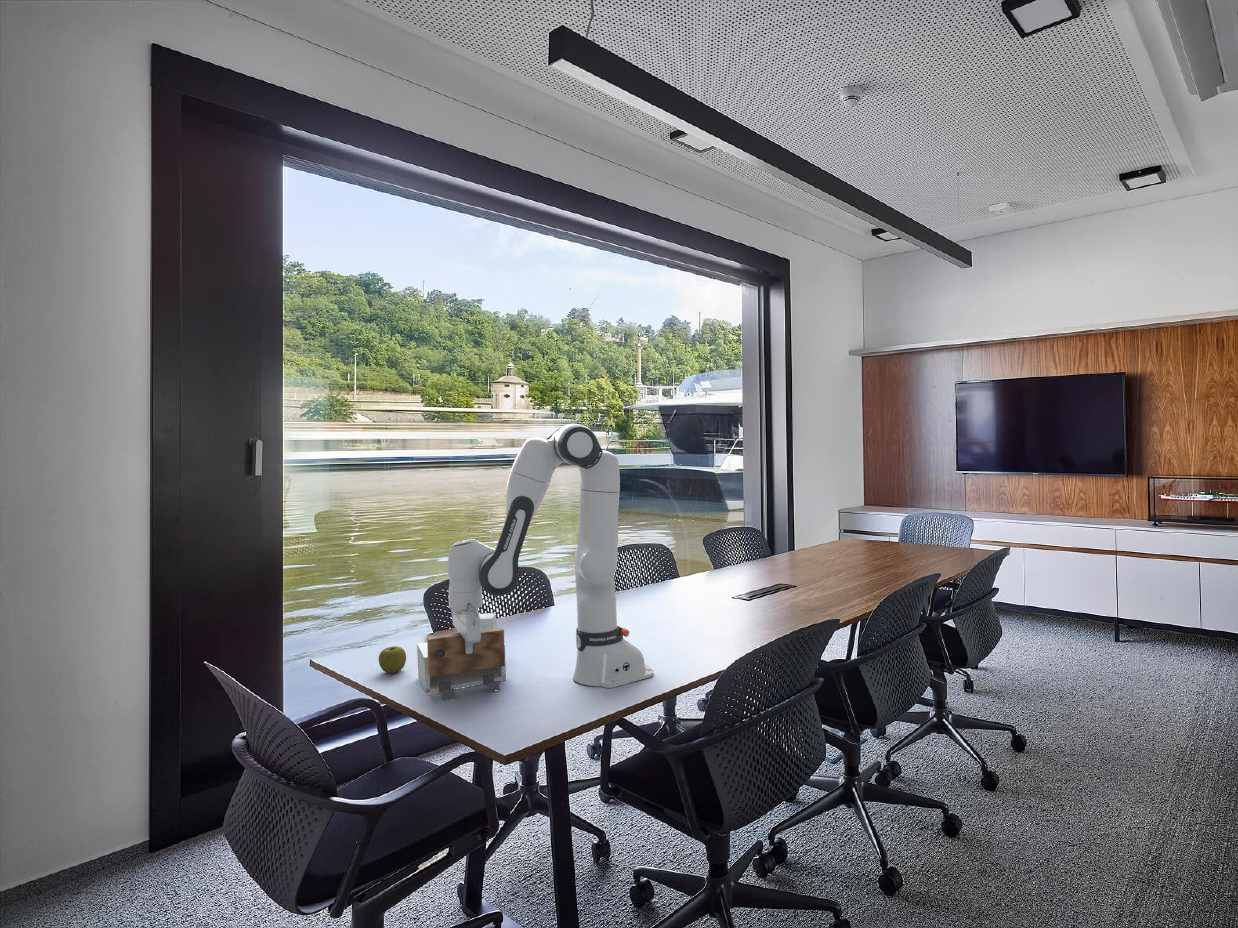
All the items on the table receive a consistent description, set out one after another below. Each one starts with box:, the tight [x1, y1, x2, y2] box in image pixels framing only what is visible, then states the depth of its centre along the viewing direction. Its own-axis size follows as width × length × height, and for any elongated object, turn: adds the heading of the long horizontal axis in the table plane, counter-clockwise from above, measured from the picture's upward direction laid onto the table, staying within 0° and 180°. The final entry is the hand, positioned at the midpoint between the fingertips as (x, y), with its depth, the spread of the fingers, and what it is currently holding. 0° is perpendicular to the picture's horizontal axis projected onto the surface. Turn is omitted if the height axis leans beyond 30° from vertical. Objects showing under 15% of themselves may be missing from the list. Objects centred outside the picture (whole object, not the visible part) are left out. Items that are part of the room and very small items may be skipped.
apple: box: [378, 645, 407, 674], centre depth 208 cm, size 8×8×7 cm
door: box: [426, 626, 506, 677], centre depth 190 cm, size 20×4×10 cm, turn 114°
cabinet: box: [416, 641, 507, 701], centre depth 197 cm, size 22×21×10 cm
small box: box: [479, 613, 498, 630], centre depth 219 cm, size 8×6×13 cm
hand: (467, 650), depth 190 cm, fingers closed on door, 3 cm apart
